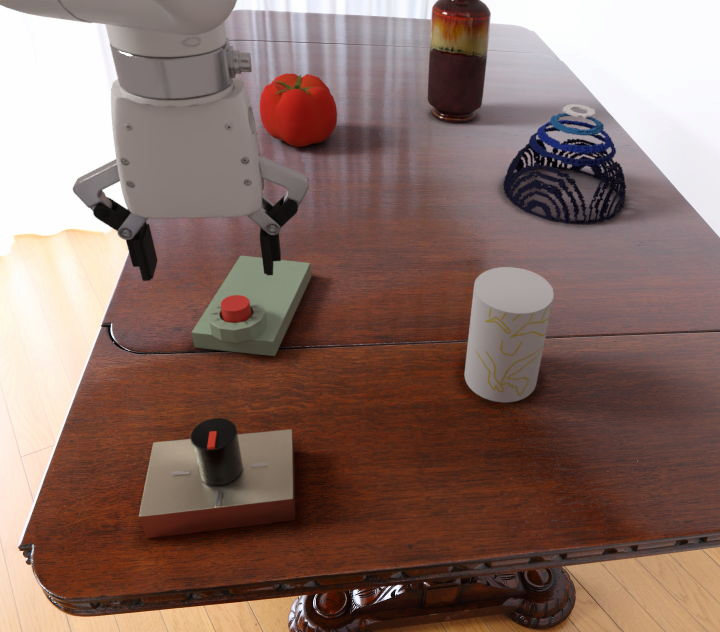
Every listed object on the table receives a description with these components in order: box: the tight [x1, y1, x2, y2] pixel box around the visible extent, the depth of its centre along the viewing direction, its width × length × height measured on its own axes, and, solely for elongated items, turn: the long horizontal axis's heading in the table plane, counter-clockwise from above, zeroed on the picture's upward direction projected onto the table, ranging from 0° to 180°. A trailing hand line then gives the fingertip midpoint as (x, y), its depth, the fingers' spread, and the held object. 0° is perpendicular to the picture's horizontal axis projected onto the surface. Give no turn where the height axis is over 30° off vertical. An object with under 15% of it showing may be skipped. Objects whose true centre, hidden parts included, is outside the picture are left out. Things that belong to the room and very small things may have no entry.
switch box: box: [191, 255, 312, 357], centre depth 80 cm, size 17×9×4 cm, turn 177°
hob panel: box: [138, 428, 296, 540], centre depth 60 cm, size 12×8×3 cm, turn 103°
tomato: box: [259, 73, 338, 148], centre depth 119 cm, size 14×13×10 cm
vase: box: [427, 0, 492, 124], centre depth 130 cm, size 11×11×26 cm
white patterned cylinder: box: [464, 266, 555, 403], centre depth 73 cm, size 8×8×12 cm
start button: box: [221, 295, 251, 323], centre depth 74 cm, size 3×3×2 cm
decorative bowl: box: [502, 103, 627, 225], centre depth 110 cm, size 20×20×14 cm
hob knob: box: [190, 417, 243, 485], centre depth 57 cm, size 4×4×5 cm
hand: (211, 269), depth 58 cm, fingers open, 9 cm apart
